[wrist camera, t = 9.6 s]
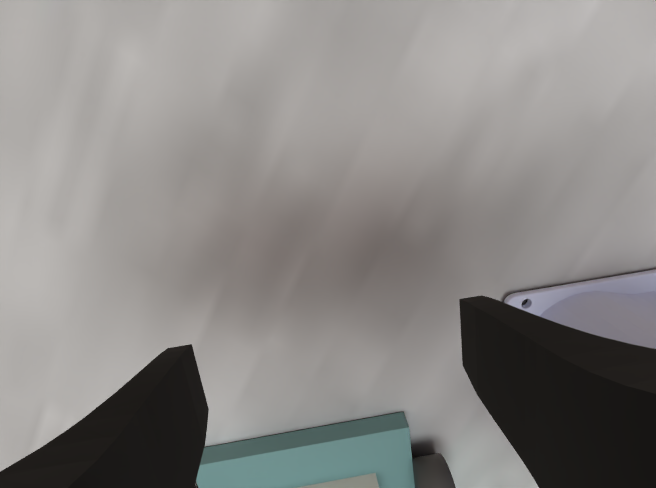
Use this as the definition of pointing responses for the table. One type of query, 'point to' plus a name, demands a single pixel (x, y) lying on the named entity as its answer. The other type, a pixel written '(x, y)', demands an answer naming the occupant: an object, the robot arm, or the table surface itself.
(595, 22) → the table surface
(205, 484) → the chassis
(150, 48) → the table surface
